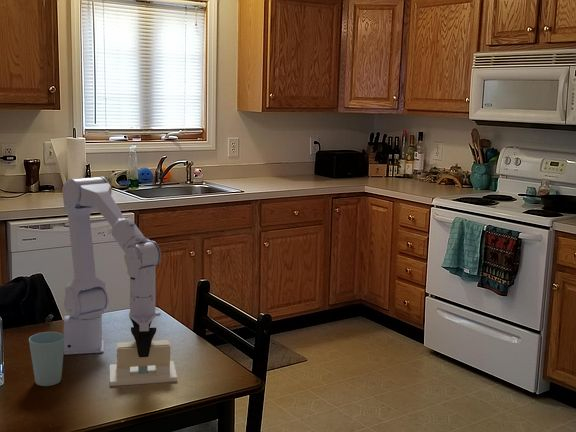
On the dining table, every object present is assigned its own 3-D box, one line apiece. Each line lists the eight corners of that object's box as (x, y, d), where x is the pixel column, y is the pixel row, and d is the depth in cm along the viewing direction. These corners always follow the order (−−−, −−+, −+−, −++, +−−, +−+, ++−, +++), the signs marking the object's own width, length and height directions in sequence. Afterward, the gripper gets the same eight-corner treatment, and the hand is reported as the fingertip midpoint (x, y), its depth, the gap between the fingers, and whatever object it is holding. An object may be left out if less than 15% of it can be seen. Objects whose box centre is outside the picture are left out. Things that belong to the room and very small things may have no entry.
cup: (47, 391, 151) (46, 346, 149) (22, 383, 154) (21, 339, 152) (73, 379, 157) (72, 335, 156) (48, 372, 161) (47, 329, 159)
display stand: (109, 386, 154) (109, 373, 154) (109, 368, 164) (109, 356, 163) (177, 381, 158) (177, 369, 158) (173, 364, 168) (173, 352, 167)
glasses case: (117, 367, 157) (116, 348, 156) (116, 360, 161) (116, 342, 160) (170, 364, 160) (170, 345, 159) (168, 357, 164) (168, 339, 163)
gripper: (162, 303, 152) (162, 361, 154) (158, 284, 165) (158, 338, 168) (129, 304, 150) (130, 363, 152) (128, 285, 164) (128, 339, 166)
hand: (142, 350), depth 160 cm, fingers open, 7 cm apart
